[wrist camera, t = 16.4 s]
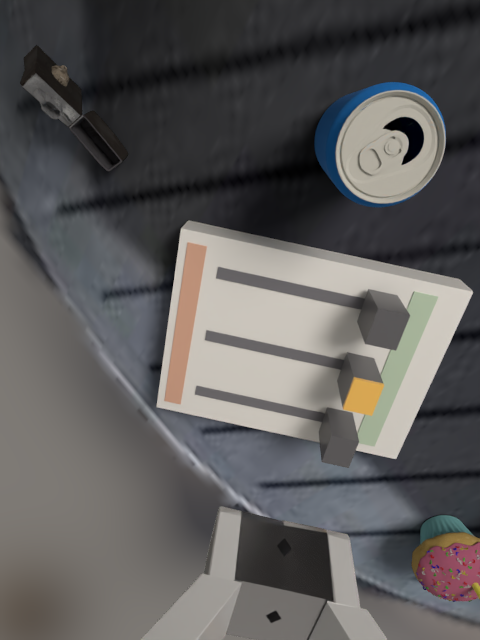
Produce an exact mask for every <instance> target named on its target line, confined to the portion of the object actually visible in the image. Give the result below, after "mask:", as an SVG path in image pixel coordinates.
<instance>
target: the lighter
mask: <svg viewBox="0 0 480 640" xmlns="http://www.w3.org/2000/svg"><path fill="white" fill-rule="evenodd" d="M24 66H25V71H24V74H23V77H22V79H21V82H20V84H21V85H22V86H23V87H24V88H25V89H26V90H27V91H28V92H29V93H30V94H31V95H32V96H34V97H35V98H36V99H37V100H38V101H39V102H40V104H41V108H42V110H43V111H44V112H45V113H46V114H48V115H49V116H50V117H51V118H52V119H59V120H61V121H62V122H63V123H64V124H65V125H66V126H67V127H69V128H70V130H71V131H72V133H73V134H74V135H75V136H76V137H77V138H78V140H79V141H80V142H81V143H82V144H83V145H84V147H85V148H86V149H87V150H88V151H89V152H90V153H91V155H92V156H93V157H94V158H95V159H96V160H97V162H98V163H99V164H100V165H101V166H102V167H103V168H104V169H105V170H106V171H110V170H112V169H113V168H115V167H116V166H117V165H119V164H120V163H121V162H122V161H123V160H124V159H125V158H126V157H127V156H128V152H127V151H126V149H125V148H124V146H123V145H122V143H121V142H120V141H119V139H118V138H117V137H116V136H115V134H114V133H113V132H112V131H111V129H110V128H109V127H108V126H107V125H106V124H105V122H104V121H103V120H102V119H101V118H100V117H99V116H98V115H97V114H96V113H95V112H94V111H90V112H89V113H87V114H85V115H82V96H81V89H80V88H79V87H78V86H77V85H76V84H75V83H74V82H73V81H72V80H71V79H70V78H69V76H68V73H67V67H66V66H64V65H61V66H57V65H56V64H55V63H54V62H53V61H52V60H51V59H50V58H49V57H48V56H47V55H46V54H45V53H44V52H43V50H42V49H41V48H40V47H39V46H37V45H36V46H35V47H34V48H33V49H32V50H31V51H30V52H29V53H28V54H27V55H26V56H25V57H24ZM49 111H50V112H49Z"/></svg>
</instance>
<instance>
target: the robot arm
mask: <svg viewBox="0 0 480 640" xmlns="http://www.w3.org/2000/svg"><path fill="white" fill-rule="evenodd" d="M226 634H228V635H233V636H239V637H244V638H249V639H255V640H387V638H386V637H385V635H384V634H383V632H382V631H381V629H380V628H379V626H378V625H377V623H376V622H375V621H374V619H373V618H372V616H371V615H370V613H369V612H368V610H366V609H362V608H360V602H359V596H358V589H357V583H356V576H355V570H354V563H353V557H352V550H351V544H350V538H349V537H348V535H347V534H343V533H339V532H334V531H329V530H324V529H322V528H317V527H313V526H308V525H303V524H298V523H293V522H288V521H280V520H276V519H271V518H267V517H263V516H259V515H255V514H251V513H247V512H243V511H242V512H241V511H238V510H234V509H230V508H226V507H221V506H220V507H219V510H218V513H217V517H216V521H215V525H214V529H213V534H212V537H211V541H210V546H209V550H208V555H207V559H206V565H205V570H204V574H201V575H200V576H199V577H198V578H197V579H196V580H195V581H194V583H192V584H191V586H190V587H189V588H188V589H187V590H186V591H185V592H184V593H183V594H182V595H181V596H180V598H179V599H178V600H177V601H176V602H175V603H174V604H173V605H172V606H171V607H170V608H169V609H168V611H167V612H166V613H165V614H164V615H163V616H162V617H161V618H160V619H159V620H158V621H157V623H155V625H154V626H153V627H152V628H151V629H150V630H149V631H148V632H147V633H146V635H144V636H143V638H142V639H141V640H223V639H224V637H225V635H226Z"/></svg>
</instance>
